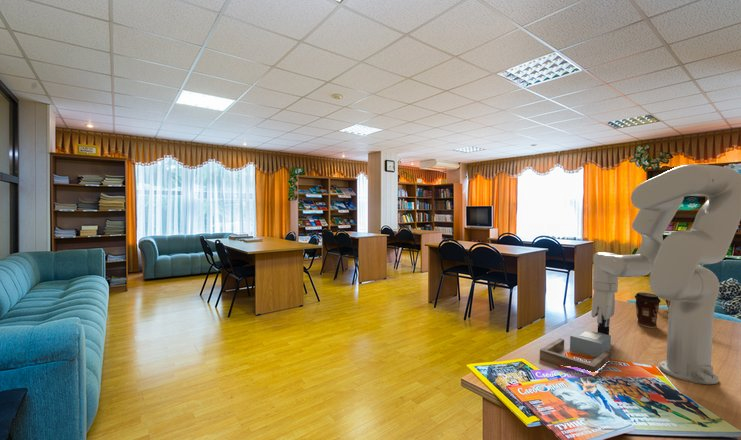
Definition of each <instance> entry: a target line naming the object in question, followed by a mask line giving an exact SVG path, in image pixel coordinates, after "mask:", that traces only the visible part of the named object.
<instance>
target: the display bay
mask: <svg viewBox="0 0 741 440" xmlns="http://www.w3.org/2000/svg"><path fill="white" fill-rule="evenodd" d="M563 349H565V339H564V338H561V337H559V338H557V339H556V340H554V341H553V342H551V343H549V344H547V345H545V346H544V347H542V348H540V349H539V360H542V361H543V362H547V363H549V364H550V363H551V364H553V365H556V366H559V365H563V366H571V367H578V368H581V369H585V370H588V371H591V372H595V371H597V370H598V369H599V368H601V367H602V366H603V365H604V364H605V363H606V362H608V361H610V360H611V361H612V359H611V358H612V352H611V351H605V352H603V353H602V354H601V355H600V356H598V357H595V359H593V360H592V361H591V362H587V361H583V360H580V359H577V358H573V357H570V356H567V355H565V354H561V353H559V352H560V351H562V350H563Z"/></svg>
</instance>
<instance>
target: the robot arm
mask: <svg viewBox="0 0 741 440" xmlns="http://www.w3.org/2000/svg"><path fill="white" fill-rule="evenodd" d="M691 196H693V197H706V198H707V200H706V201H705V202H704V204H702V206H701V207H700V208H699V209H698V211H697V213H696V215H695V218H694V221H693V223H692V225H691V227H690V229H683V230H676V231H674V232H672V233H670V234H668V235H667V236H666V237H665V238H664V236H663V235H664V234H665V232H666V230H667V228H668V227H669V225H670V223H671V222H672V220H673V219H674V216H675V215H676V213H677V211H678V210H679V209H680V207H681V205H682V203H683V201H684V199H685V197H691ZM630 202H631V204H632V205H633V207H635V208H636V209H638V211H637V213H636V216H635V217H634V219H633V221H632V223H631V228H632V230H634V231H635V232H636V233H637V234H639V235H640V236H641V243H640V245H639V247H638V249H637V251H636V253H635V254H616V253H614V252H608V251H607V252H606V251H605V252H604V251H602V252H601V251H599V252H595V253H594V254H593V267H592V290H593V295H592V302H591V313H590V316H591V317H592V318H595V317H597V319H596V323H597V332H598V333H602V334H606V335H610V324H611V323H610V321H611V318H612V317H613V316H614V315H615V308H616V307H615V306H616V300H615V299H616V298H615V297H616V296H615V294H616V293H618V286H619V283H618V282H619V278H631V277H644V276H647V275H649V278H648V279H649V281H648V282H649V286H650V287H649V288H650V289H651V291H652V294H655V295H656V296H658V298H659V299H662V300H664V301H665V300H671V303H670V307H669V313H668V315H667V317H668V318H667V339H666V340H667V342H666V360H663V361H660V362H659V367H658V368H660V370H661V371H662V372H663V373H665V374H667V375H669V376H672V377H674V378H676V379H679V380H682V381H686V382H689V383H690V382H691V383H695V384H701V385H715V384H718V382H719V379H720V378H719V376H718V375H717V374H716V373H715V372H713V371H714V366H712V355H713V354H712V351H713V335H714V332H713V331H714V318H715V315H714V314H715V308H716V302H717V299H718V296H719V292H720V281H719V279H718V277H717V275H716V274H715V273H714V272H713V271H712V270H710V269H709V268H706V267H704V266H701V265H713V264H717V263H720V262H721V261H723V260H724V259H725V257H726V256H727V253H728V251H729V250H730V246H731V244H732V242H733V239H734V237H735V234H736V232H737V230H738V227H739V225H740V222H741V173H740V172H738V171H736V170H734V169H732V168H729V167H726V166H720V165H710V164H693V163H691V164H682V165H680V166H675V167H674V168H673V167H672V169H670V170H667V171H664V172H663V173H661V174H658V175H656V176H654V177H652V178H649V179H648V180H644V181H643V182H641V183H640V184H638V185H637V186H636V187H635V188H634V189H633V191H632V193H631V196H630Z"/></svg>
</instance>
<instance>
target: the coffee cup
mask: <svg viewBox="0 0 741 440" xmlns="http://www.w3.org/2000/svg"><path fill="white" fill-rule="evenodd" d="M634 298H635V311H636V317H637V323H636V324H637V325H638V326H641V327H643V328H644V327H646V328H648V329H649V328H650V329H651V328H652V329H653V328H655V329H656V328H657V326H658V325H657V322H658V321H657V320H658V313H659V307H660V303H661V298H660V297H658V296H656V295H655V294H654V293H650V292H644V291H643V292H637V293H636V294H635V295H634Z"/></svg>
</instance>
